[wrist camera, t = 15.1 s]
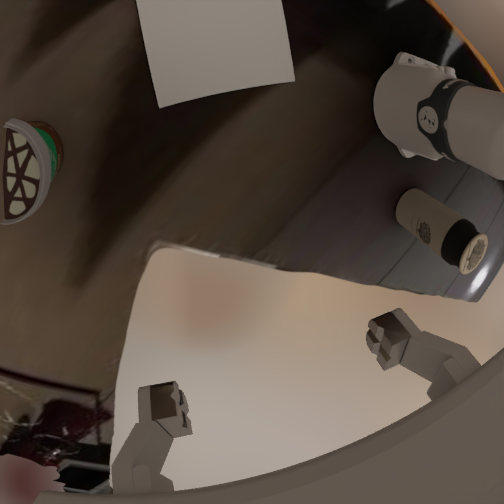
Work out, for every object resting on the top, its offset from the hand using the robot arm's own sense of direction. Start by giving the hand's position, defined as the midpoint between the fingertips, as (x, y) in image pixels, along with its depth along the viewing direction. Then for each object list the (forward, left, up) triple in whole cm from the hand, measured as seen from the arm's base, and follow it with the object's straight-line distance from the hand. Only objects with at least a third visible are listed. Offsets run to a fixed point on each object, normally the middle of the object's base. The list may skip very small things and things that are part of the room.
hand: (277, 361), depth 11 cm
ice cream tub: (+19, -7, -33) cm, 38 cm away
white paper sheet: (-6, -17, -33) cm, 37 cm away
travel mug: (-37, +17, -33) cm, 52 cm away
